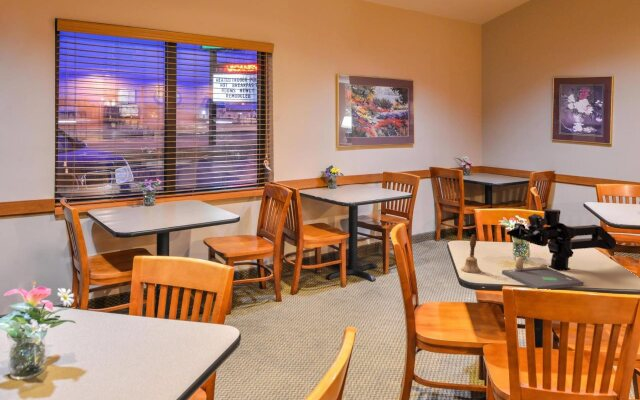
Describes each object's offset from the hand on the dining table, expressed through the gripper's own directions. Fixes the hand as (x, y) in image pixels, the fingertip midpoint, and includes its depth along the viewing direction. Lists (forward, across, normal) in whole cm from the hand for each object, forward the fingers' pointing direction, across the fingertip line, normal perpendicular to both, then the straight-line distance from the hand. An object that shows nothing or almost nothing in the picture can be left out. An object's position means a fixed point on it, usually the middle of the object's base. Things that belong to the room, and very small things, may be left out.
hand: (513, 235), depth 217 cm
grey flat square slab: (-6, +11, +16) cm, 21 cm away
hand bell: (+15, -8, +17) cm, 24 cm away
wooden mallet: (-8, +2, +15) cm, 17 cm away
